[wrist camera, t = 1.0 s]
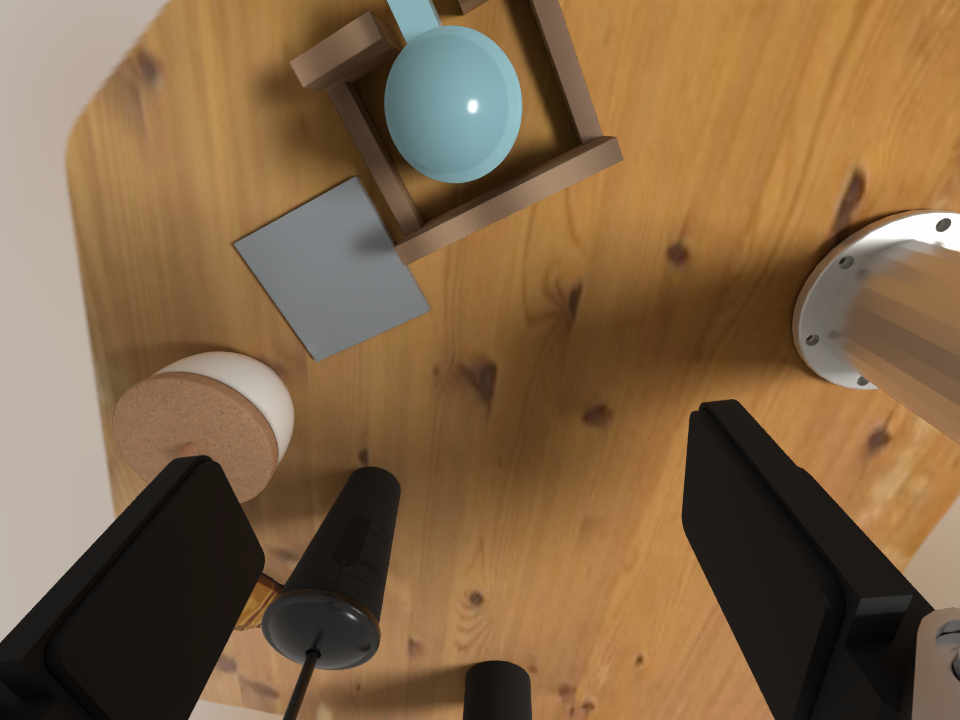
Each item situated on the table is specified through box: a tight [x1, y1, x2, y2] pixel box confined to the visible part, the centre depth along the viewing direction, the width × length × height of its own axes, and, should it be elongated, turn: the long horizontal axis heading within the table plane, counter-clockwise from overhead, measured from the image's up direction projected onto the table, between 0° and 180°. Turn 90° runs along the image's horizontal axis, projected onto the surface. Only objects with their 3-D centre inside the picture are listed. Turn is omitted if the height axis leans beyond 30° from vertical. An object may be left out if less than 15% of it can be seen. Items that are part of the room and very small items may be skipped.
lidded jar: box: [112, 351, 294, 504], centre depth 34 cm, size 11×11×9 cm
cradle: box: [289, 0, 623, 266], centre depth 26 cm, size 13×11×5 cm
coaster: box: [234, 176, 431, 362], centre depth 33 cm, size 10×10×1 cm
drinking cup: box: [261, 467, 401, 720], centre depth 33 cm, size 8×8×20 cm
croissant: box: [233, 573, 284, 631], centre depth 47 cm, size 14×7×5 cm, turn 57°
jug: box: [384, 0, 522, 183], centre depth 23 cm, size 6×9×11 cm, turn 26°
